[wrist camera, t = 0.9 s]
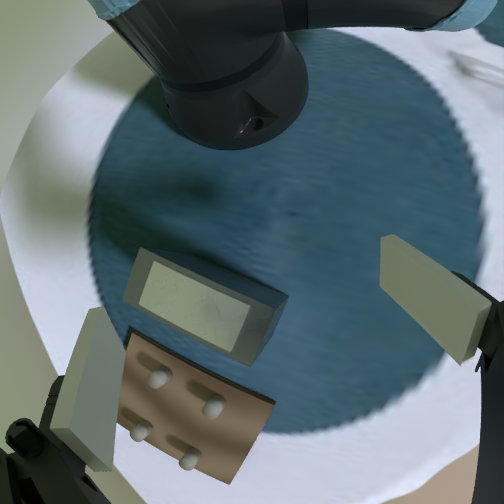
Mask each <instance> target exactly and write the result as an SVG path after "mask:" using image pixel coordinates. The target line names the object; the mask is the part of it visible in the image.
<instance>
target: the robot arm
mask: <svg viewBox="0 0 504 504" xmlns="http://www.w3.org/2000/svg"><path fill="white" fill-rule="evenodd" d="M497 1H498V0H88V2H89V3H90V4H91V5H92V7H93V8H94V9H95V11H96V14H97V15H98V17H99V18H101V19H103V20H105V21H106V22H107V23H108V24H109V25H110V26H111V27H112V28H113V29H114V30H115V31H116V33H117V34H118V35H119V36H120V37H121V38H122V39H123V40H124V41H125V42H126V43H127V44H128V45H129V46H130V47H131V49H132V50H133V51H134V52H135V53H136V54H137V55H138V56H139V57H140V58H141V59H142V60H143V62H144V63H145V64H146V65H147V66H148V67H149V68H150V69H151V70H152V71H153V73H154V74H155V75H156V76H157V77H158V78H159V79H160V82H161V85H162V88H163V91H164V97H165V103H166V107H167V110H168V113H169V115H170V117H171V118H172V120H173V122H174V123H175V124H176V125H177V126H178V128H179V129H180V130H181V131H182V132H183V133H184V134H185V135H187V136H188V137H189V138H190V139H192V140H193V141H195V142H196V143H198V144H200V145H203V146H206V147H209V148H213V149H218V150H240V149H246V148H250V147H254V146H257V145H260V144H262V143H265V142H267V141H269V140H271V139H273V138H274V137H276V136H278V135H279V134H281V133H282V132H283V131H285V130H286V129H287V128H288V127H289V126H290V125H291V124H292V123H293V122H294V121H295V120H296V118H297V117H298V116H299V114H300V113H301V111H302V109H303V107H304V105H305V102H306V99H307V95H308V74H307V68H306V64H305V61H304V59H303V56H302V55H301V53H300V51H299V50H298V49H297V48H296V46H295V45H294V44H293V43H292V42H291V41H290V39H289V38H288V36H287V35H286V33H285V31H292V30H301V29H317V28H333V27H395V28H404V29H405V30H408V31H415V32H424V31H430V30H439V31H450V32H456V31H461V30H466V29H470V28H472V27H474V26H476V25H478V24H479V23H481V22H482V21H483V20H484V19H485V18H486V17H487V16H488V15H489V14H490V13H491V11H492V10H493V8H494V7H495V5H496V3H497ZM380 287H381V288H382V289H383V290H384V291H385V292H386V293H387V294H388V295H390V296H391V297H392V298H393V299H394V300H395V301H396V302H397V303H398V304H399V305H400V306H401V307H402V308H403V309H404V310H405V311H406V312H407V313H408V314H409V315H410V316H411V317H412V318H413V319H414V320H415V321H416V322H417V323H418V324H419V325H420V326H421V327H422V328H423V329H424V330H426V331H427V332H428V333H429V335H430V336H431V337H432V338H433V339H434V340H435V341H436V342H437V343H438V344H439V345H440V346H441V347H442V348H443V349H444V350H445V351H446V352H447V353H448V354H449V355H450V356H451V357H452V358H453V359H454V360H455V361H456V362H457V363H458V364H459V365H460V366H462V365H464V364H466V363H467V362H469V361H470V360H472V359H473V358H474V355H475V353H476V350H477V347H478V348H479V349H480V350H481V351H482V353H481V356H480V359H479V361H478V364H477V366H476V369H475V372H477V371H478V369H479V367H480V366H481V431H480V445H479V446H480V447H479V456H478V465H477V473H476V480H475V487H474V492H473V498H472V503H471V504H504V301H501V302H499V301H498V300H496V299H495V298H494V297H492V296H491V295H490V294H488V293H487V292H486V291H484V290H483V289H481V288H480V287H479V286H478V287H477V285H476V284H475V283H473V282H471V281H470V280H469V279H468V278H466V277H465V276H463V275H461V274H459V273H456V272H453V271H451V272H450V271H448V270H447V269H445V268H444V267H443V266H441V265H440V264H438V263H437V262H435V261H434V260H432V259H431V258H429V257H428V256H426V255H425V254H423V253H422V252H420V251H419V250H417V249H416V248H414V247H413V246H411V245H410V244H408V243H407V242H405V241H404V240H402V239H400V238H399V237H397V236H396V235H394V234H392V235H388V236H384V237H381V260H380ZM125 356H126V351H125V349H124V347H123V345H122V343H121V341H120V339H119V337H118V335H117V333H116V331H115V329H114V327H113V325H112V323H111V321H110V319H109V317H108V315H107V313H106V310H105V308H104V306H102V307H97V308H93V309H89V311H88V313H87V316H86V318H85V321H84V323H83V326H82V328H81V331H80V334H79V336H78V339H77V342H76V345H75V347H74V350H73V353H72V356H71V359H70V362H69V364H68V367H67V370H66V374H65V375H62V376H58V378H57V379H56V380H55V382H54V383H53V384H52V386H51V389H50V392H49V395H48V396H49V398H47V401H46V406H45V408H44V411H43V414H42V418H41V421H40V425H39V428H37V426H36V425H35V424H34V423H33V422H32V421H31V420H30V419H27V418H21V419H18V420H17V421H15V422H13V423H12V424H11V425H10V427H9V429H8V430H7V432H6V437H5V439H6V443H7V444H8V445H9V446H10V447H11V448H12V449H13V450H14V451H15V452H14V453H11V454H7V453H6V452H5V451H4V450H3V449H1V448H0V504H111V503H110V502H109V500H108V499H107V498H106V497H105V496H104V494H103V493H102V492H101V491H100V490H99V488H98V487H97V486H96V485H95V483H94V482H93V481H92V479H91V478H90V477H89V476H88V475H87V474H86V473H85V466H86V465H88V466H89V467H90V468H91V469H92V470H93V471H94V472H95V471H96V472H97V471H113V456H114V443H115V432H116V422H117V413H118V404H119V396H120V389H121V382H122V375H123V368H124V362H125Z"/></svg>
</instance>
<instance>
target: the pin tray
mask: <svg viewBox="0 0 504 504" xmlns="http://www.w3.org/2000/svg"><path fill="white" fill-rule="evenodd" d="M275 402H276V401H274V400H271V399H269V398H267V397H264V396H262V395H260V394H258V393H255V392H253V391H251V390H249V389H246V388H244V387H242V386H240V385H238V384H236V383H233V382H231V381H229V380H227V379H225V378H223V377H221V376H219V375H217V374H215V373H213V372H211V371H209V370H207V369H205V368H203V367H201V366H199V365H197V364H195V363H193V362H191V361H189V360H188V359H186V358H184V357H182V356H180V355H178V354H176V353H175V352H173V351H171V350H169V349H167V348H166V347H164V346H162V345H160V344H159V343H157V342H155V341H153V340H152V339H150V338H148V337H146V336H145V335H143V334H141V333H140V332H138V331H135V332H132V334H131V338H130V341H129V344H128V347H127V351H126V356H125V362H124V368H123V375H122V382H121V389H120V396H119V404H118V413H117V423H118V424H120V425H121V426H123V427H124V428H126V429H127V430H129V431H130V436H131V438H132V439H133V440H134V441H136V442H141V441H142V440H144V441H146V442H148V443H149V444H151V445H153V446H154V447H156V448H158V449H159V450H161V451H163V452H165V453H166V454H168V455H170V456H172V457H174V458H175V459H177V460H179V465H180V467H181V468H183V469H184V470H192V469H193V468H194V469H196V470H199V471H201V472H203V473H205V474H207V475H209V476H211V477H213V478H215V479H217V480H220V481H222V482H224V483H226V484H229V485H230V483H231V482H232V480H233V478H234V477H235V475H236V473H237V472H238V470H239V468H240V467H241V465H242V463H243V461H244V460H245V458H246V456H247V455H248V453H249V451H250V449H251V448H252V446H253V444H254V442H255V441H256V439H257V437H258V435H259V433H260V432H261V430H262V428H263V426H264V424H265V422H266V421H267V419H268V417H269V415H270V413H271V411H272V409H273V407H274V405H275Z"/></svg>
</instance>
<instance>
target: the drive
mask: <svg viewBox="0 0 504 504" xmlns="http://www.w3.org/2000/svg"><path fill="white" fill-rule="evenodd" d="M288 299H289V296H288V295H285V294H283V293H281V292H278V291H276V290H274V289H271V288H269V287H267V286H264V285H262V284H260V283H257V282H255V281H253V280H250V279H248V278H246V277H244V276H241V275H239V274H237V273H234V272H232V271H230V270H228V269H225V268H223V267H221V266H218V265H216V264H214V263H212V262H209V261H207V260H205V259H203V258H200V257H198V256H196V255H194V254H187V253H180V252H173V251H166V250H159V249H152V248H145V247H140V249H139V252H138V254H137V257H136V260H135V263H134V266H133V268H132V271H131V274H130V277H129V280H128V283H127V286H126V289H125V292H124V295H123V298H122V300H124V301H125V302H127V303H129V304H130V305H132V306H134V307H135V308H137V309H139V310H141V311H142V312H144V313H146V314H148V315H149V316H151V317H153V318H155V319H156V320H158V321H160V322H162V323H164V324H166V325H167V326H169V327H171V328H173V329H175V330H177V331H179V332H180V333H182V334H184V335H186V336H188V337H190V338H192V339H194V340H196V341H198V342H200V343H202V344H204V345H206V346H208V347H210V348H212V349H214V350H216V351H218V352H220V353H222V354H224V355H226V356H228V357H230V358H232V359H234V360H236V361H239V362H241V363H243V364H245V365H247V366H249V367H251V366H252V364H253V363H254V361H255V360H256V359H257V357H258V356H259V354H260V353H261V351H262V350H263V349H264V347H265V346H266V344H267V343H268V341H269V340H270V338H271V337H272V335H273V333H274V331H275V329H276V326H277V324H278V322H279V319H280V317H281V315H282V313H283V310H284V308H285V306H286V303H287V301H288Z"/></svg>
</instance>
